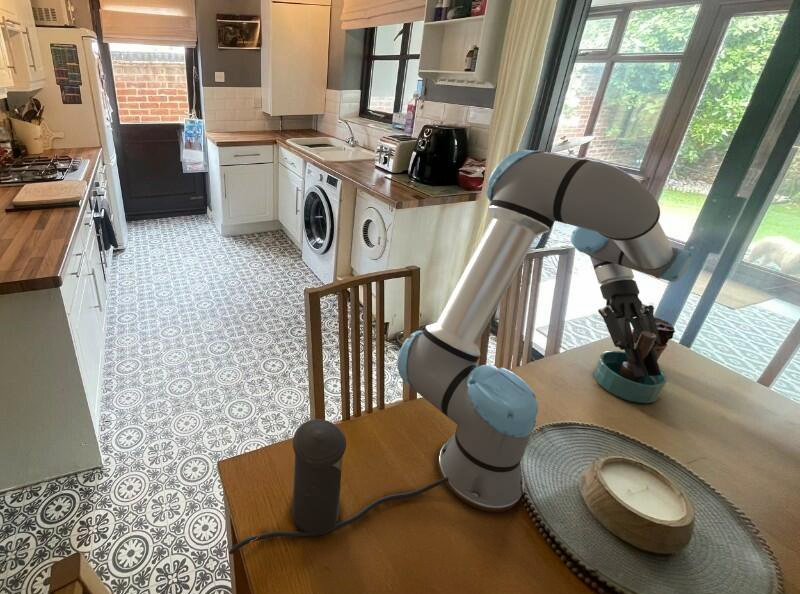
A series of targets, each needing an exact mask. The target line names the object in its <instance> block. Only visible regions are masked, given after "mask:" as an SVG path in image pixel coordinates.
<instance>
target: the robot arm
mask: <svg viewBox="0 0 800 594" xmlns="http://www.w3.org/2000/svg"><path fill="white" fill-rule="evenodd" d="M487 186H488V187H487V188H486V197H487V199H488V200H489V201H490V203H489V206H488V211H489V214H490V218H491V219H490V221H489V223H488V225H487V227H486V228H485V230H484V232H483V234H482V236H481V237H480V240H479V242H478V244H477V245H476V247H475V249H474V251H473V253H472V255H471V257H470V258H469V261H468V262H467V264H466V266H465V268H464V270H463V272H462V274H461V276H460V277H459V279H458V281H457V282H456V285H455V287H454V288H453V290H452V292H451V294H450V296H449V298H448V300H447V301H446V304H445V306H444V307H443V310H442V311H441V313H440V315H439V317H438V319H437V321H435V322H434V323H430V324H427V325H425V327H424V329H423V330H416V331H414V332H413V333H411V334H409V337H407V338H406V339H405V340H404V342H403V343H402V345H401V347H400V349H399V351H398V355H397V362H396V367H397V371H398V375H399V377H400V379H401V380H402V381H403V382H405V384H406V385H408V386H409V388H410V390H412V391H413V392H415V393H416V394H418V395H420V396H421V397H422V398H423V399H424V400H426V401H427V402H428V403H429V404H431V405H432V406H433V407H434V408H436V409H437V410H438V411H440V412H441V413H442V414H444V415H445V417H447V418H448V419H450V421H452V422H453V423H454V424H455V425H456V429H455V432H454V434H452V435H451V436H450V438H448V440H447V441H446V442H445V443H444V444H443V446H442V447H441V449H440V452H439V457H438V459H437V460H438V461H437V467H438V472H439V475H440V478H441V479H438V480H436V481H433V482H431V483H429V484H427V485H425V486H423V487H421V488H419V489H415V490H412V491H409V492H402V493H396V494H395V493H394V494H390V495H387V496H384V497H381V498H379V499H377V500H375V501H373V502H371V503H370V504H368V505H366V507H364V508H363V509H361V510H360V511H359V512H357V514H355V515H353V516H351V517H350V518H347V519H345V520H343V521H341V522H338V523H336V524H335V525H334V526H333V527H331V528H330V529H329V530H328V531H327V533H330V532H332V531H336V530H338V529H341V528H344V527H346V526H348V525H350V524H352V523H354V522H356V521H358V520H359V519H361V518H362V517H363V516H365V515H366V514H367V513H369V512H370V511H371V510H372V509H374V508H375V507H378V506H379V505H381V504H383V503H386V502H390V501H392V500H398V499H399V500H400V499H405V498H410V497H414V496H418V495H421V494H423V493H425V492H427V491H429V490H432V489H433V488H436V487H438V486H440V485H443V484H444V485H445V486H446V488H447V489H448V490H449V492H451V493H452V494H453V495H454V496H455V497H456V498H457V499H459V500H460V501H461V502H463V503H464V504H466V505H468V506H470V507H472V508H474V509H476V510H478V511H483V512H487V513H493V514H495V513H498V514H499V513H505V512H507V511H510V510H512V509H513V508H514V507H516V506H517V504H518V503H519V501H520V499H521V497H522V494H524V493H525V477H524V476H523V474H522V464H521V461H522V458H523V456H524V453H525V452H526V448H527V445H528V443H529V440H530V438H531V434H532V433H533V432H534V429H535V427H536V423H537V415H538V411H539V403H538V401H537V397H536V394H535V392H534V391H533V390H532V388H531V387H530V385H529V384H528V383H527V382H526V381H525V380H524V379H522V378H521V377H520V376H519V375H517V374H516V373H515V372H512V371H510V370H509V369H506V368H504V367H499V368H497V366H496V365H492V364H483V365H478V364H477V362H478V361H479V358H480V356H481V351H480V348H479V346H478V345H479V344H478V343H479V341H480V339H481V337H482V335H483V334H484V332H485V330H486V328H487V327H488V325H489V323H490V321H491V319H492V317H493V316H494V314H495V312H496V310H497V309H498V306H499V305H500V304H501V301H502V299H503V298H504V296H505V294H506V292H507V290H508V289H509V287H510V285H511V283H512V281H513V280H514V278H515V276H516V274H517V272H518V270H519V269H520V267H521V265H522V263H523V261H524V259H525V258H526V257H527V256H526V255H527V254H528V252H529V250H530V249H531V247H532V245H533V243H534V241H535V239H536V238H537V237H538V236H540V235H543V234H546V233H548V232H550V231H551V229H552V227H553V225H554V223H555V222H558V223H562V224H566V225H570V226H573V227H575V228H574V229H573V231H572V232H571V236H570V242H571V244H572V246H573V247H574V249H576V250H577V251H578V252H580V253H583V254H585V255H587V256H589V259H590V262H591V264H592V266H593V270H594V274H595V277H596V279H597V283H598V284H599V285H600V287H599V290H600V293H601V296H602V298H603V300H606V303H605V306H604V307H602V308H598V310H597V312H598V314H599V315H600V316H601V317H602V319H603V321H604V324H605V327H606V328H607V331H608V333H609V336H610V338H611V341H612V344H613V345H614V347H616V348H619V350H620V351H624V352H625V353H626V356H627V359H628V361H629V363H631V365H632V368H633V371H634V374H635V377H641V376H658V375H661V372H660V366H659V363H658V361H659V359H658V358H657V355H656V352H655V349H654V347H657V346H658V344H660V343H661V341H660V337H659V334H658V330H657V326H656V322H655V319H654V317H655V316H654V311H655V307H654V306H653V305H652V304H649V305H647V304H644V303H643V302H642V300H641V299H640V298H639V295H640V290H639V286H638V284H637V281H636V280H635V279H634V278H635V275H634V273H633V270H634V271H637V272H639V273H642V274H646V275H648V276H651V277H654V278H655V279H659V280H664V281H667V282H670V283H675V282H678V281H680V280H682V278H683V277H684V275H685V274H686V273H687V271H688V269H689V268H690V265H691V263H692V261H693V254H692V252H691V251H689V250H686V249H683V248H680V247H678V246H672V244H671V243H670V240H669V238H668V236H667V234H666V233H665V231H664V229H663V227H662V225H661V224H660V222H659V221H660V217H661V208H660V205H659V203H658V201H657V199H656V197H654V194H653V193H651V191H650V190H649V189H648V188H647V187H646V186H645V185H644V184H642V183H641V182H640V181H639V180H638V179H637V178H635V177H634V176H632V175H631V174H630V173H628V172H626V171H624V170H623V169H621V168H619V167H616V166H615V165H613V164H610V163H606V162H604V161H600V160H594V159H586V158H582V157H581V158H580V157H574V156H569V155H564V154H559V153H553V152H549V151H548V152H547V151H544V150H530V149H519V150H515V151H514V152H512V153H509V154H507V155H506V156H504V157H503V158H502V159H501V161H499V162H498V164H497V165H496V166H495V167H494V169H493V171H492V172H491V174H490V176H489V178H488V182H487ZM632 329H634V331H635V333H636V335H637V337H638V339H639V337H640V335H641V333H642V331H648V332H651V333H653V334H655V335H656V339H655V341H654V343H653V346H652V348H651V350H650V352H649V354H648V356H647V358H646V360H645V362H644V363H643V360H642V357H641V354H640V351H639V348H635V349H634V347H635V345H634V341H633V336H632V332H633V330H632ZM644 364H645V366H644ZM645 367H646V369H645ZM646 370H647V372H646ZM647 373H648V374H647ZM256 535H257V536H256ZM256 535H253V536H248V537H247V538H244V539H242V540H241V541H239V542H238V543H236V544H235V545H234V546H232V548H231V549H230V550H229V551H228V554H229V555H233V554H235V552H237V551H238V550H239V549H241V548H242V547H244V546H246V545H248V544H250V543H253V542H256V541H261V540H264V539H269V538H276V537H277V538H278V537H288V538H289V537H291V538H299V537H300V538H304V537H313V535H314V534H312V533H309V532H305V531H304V532H302V531H289V530H288V531H285V530H283V531H282V530H281V531H279V530H278V531H270V532H265V533H260V534H256ZM258 535H260V537H259V536H258ZM261 535H262V536H261ZM257 537H258V539H256V538H257ZM254 539H256V540H254ZM251 540H254V541H252V542H250V541H251ZM249 542H250V543H249Z"/></svg>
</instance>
